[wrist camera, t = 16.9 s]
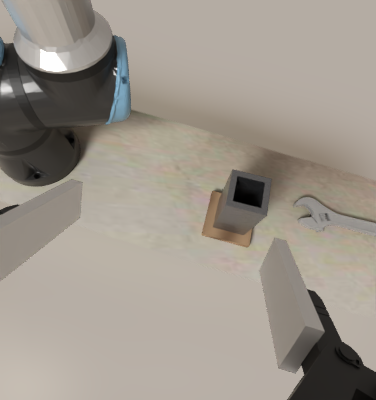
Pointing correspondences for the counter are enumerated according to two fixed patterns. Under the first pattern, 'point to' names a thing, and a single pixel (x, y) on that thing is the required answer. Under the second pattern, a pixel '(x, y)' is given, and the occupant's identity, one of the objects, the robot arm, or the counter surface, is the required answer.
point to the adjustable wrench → (331, 218)
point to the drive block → (218, 233)
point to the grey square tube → (242, 202)
